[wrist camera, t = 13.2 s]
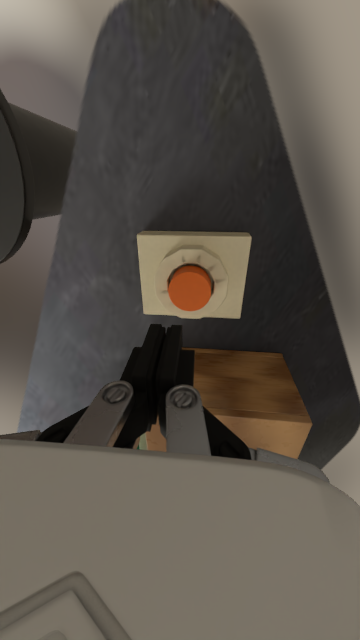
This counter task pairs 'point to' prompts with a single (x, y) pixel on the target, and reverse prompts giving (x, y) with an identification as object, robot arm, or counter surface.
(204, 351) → the cabinet
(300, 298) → the counter surface
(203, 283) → the button
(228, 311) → the button box
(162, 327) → the robot arm
